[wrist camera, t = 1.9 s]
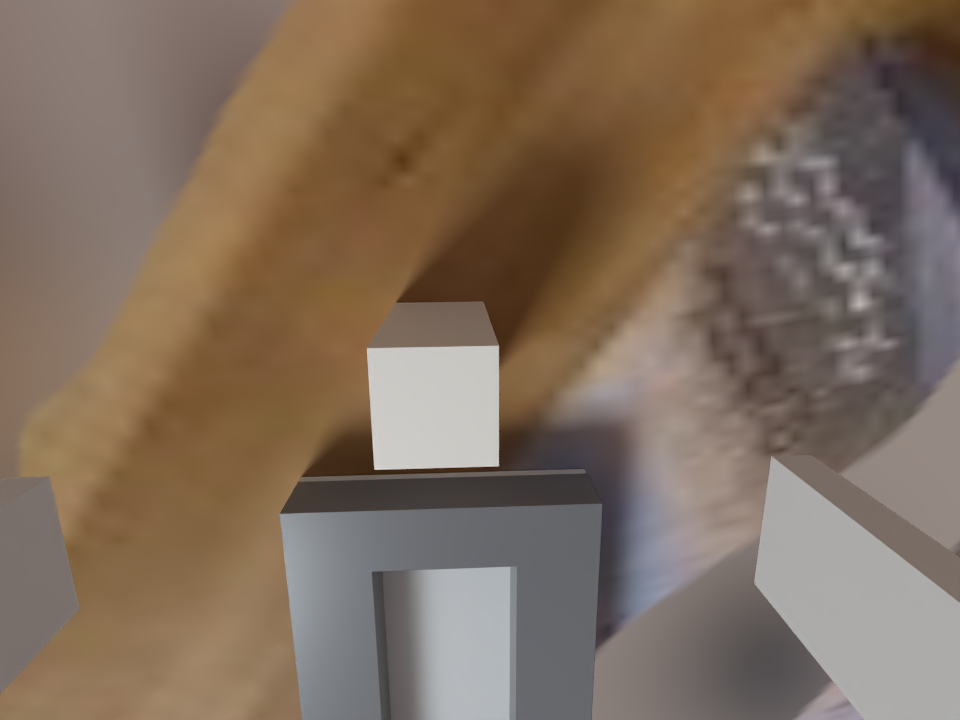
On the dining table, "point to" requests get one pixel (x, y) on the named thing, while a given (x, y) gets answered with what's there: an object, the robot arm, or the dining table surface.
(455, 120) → the dining table surface
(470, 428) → the plug
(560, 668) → the block
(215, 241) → the dining table surface
